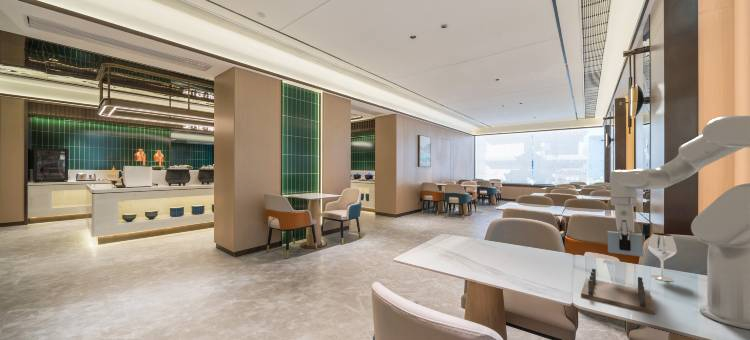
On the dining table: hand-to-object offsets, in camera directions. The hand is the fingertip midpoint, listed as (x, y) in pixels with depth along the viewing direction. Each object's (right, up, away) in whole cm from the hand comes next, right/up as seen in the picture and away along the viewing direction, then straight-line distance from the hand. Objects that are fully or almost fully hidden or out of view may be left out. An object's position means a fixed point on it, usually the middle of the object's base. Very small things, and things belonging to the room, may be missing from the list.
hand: (624, 249), depth 108 cm
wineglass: (+21, -14, +6) cm, 26 cm away
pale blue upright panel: (0, -2, 0) cm, 2 cm away
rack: (-12, -13, -10) cm, 21 cm away
